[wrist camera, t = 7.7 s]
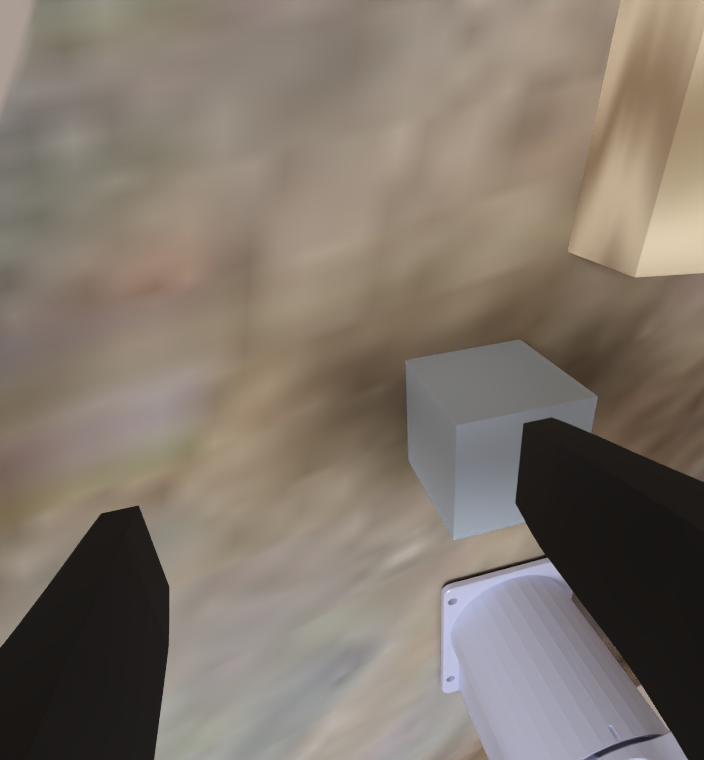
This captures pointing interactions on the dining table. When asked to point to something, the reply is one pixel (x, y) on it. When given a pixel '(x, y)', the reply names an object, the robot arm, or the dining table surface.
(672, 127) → the birch base block
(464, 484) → the dusty blue block
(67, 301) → the dining table surface
